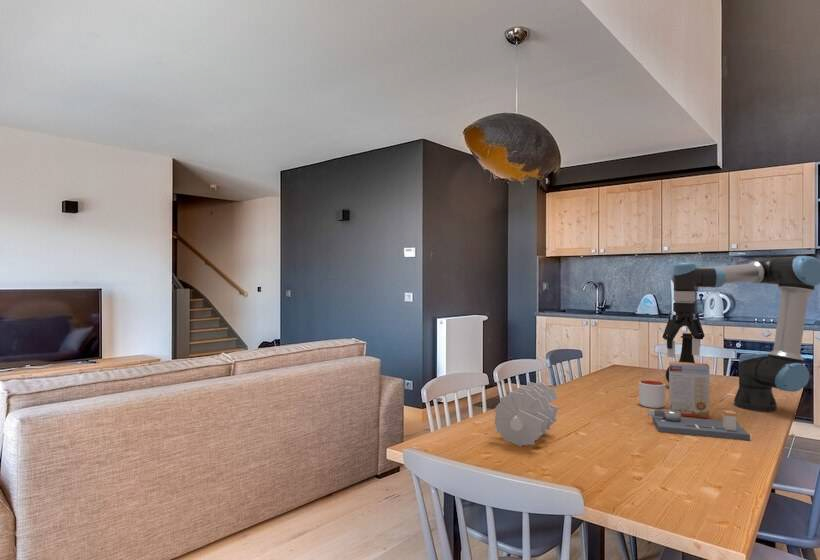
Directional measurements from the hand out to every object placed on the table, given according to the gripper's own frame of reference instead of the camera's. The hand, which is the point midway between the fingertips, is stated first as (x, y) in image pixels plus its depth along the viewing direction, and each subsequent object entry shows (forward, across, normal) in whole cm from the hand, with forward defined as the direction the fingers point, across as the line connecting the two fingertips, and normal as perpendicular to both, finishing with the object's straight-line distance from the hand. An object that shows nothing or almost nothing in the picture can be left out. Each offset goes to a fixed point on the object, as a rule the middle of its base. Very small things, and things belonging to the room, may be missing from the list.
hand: (683, 356), depth 196 cm
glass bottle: (+24, -48, -37) cm, 65 cm away
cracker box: (+25, -6, -3) cm, 26 cm away
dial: (+22, +14, +4) cm, 27 cm away
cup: (+25, -4, -19) cm, 31 cm away
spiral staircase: (+25, +72, -2) cm, 76 cm away
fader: (+22, +4, +21) cm, 31 cm away
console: (+24, +8, +13) cm, 29 cm away
